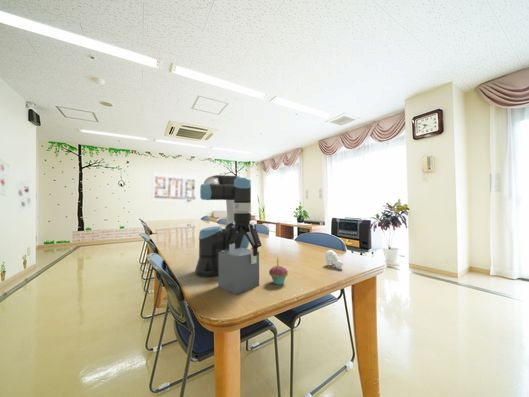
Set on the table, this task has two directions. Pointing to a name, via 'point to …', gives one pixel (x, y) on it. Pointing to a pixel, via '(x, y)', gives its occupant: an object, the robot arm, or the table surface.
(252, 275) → the grey chamfered box
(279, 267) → the cupcake
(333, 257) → the white figurine
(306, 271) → the table surface
